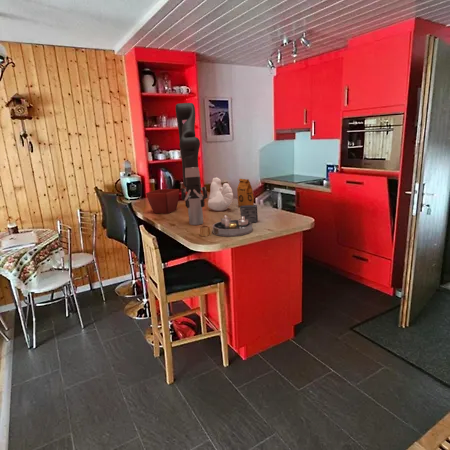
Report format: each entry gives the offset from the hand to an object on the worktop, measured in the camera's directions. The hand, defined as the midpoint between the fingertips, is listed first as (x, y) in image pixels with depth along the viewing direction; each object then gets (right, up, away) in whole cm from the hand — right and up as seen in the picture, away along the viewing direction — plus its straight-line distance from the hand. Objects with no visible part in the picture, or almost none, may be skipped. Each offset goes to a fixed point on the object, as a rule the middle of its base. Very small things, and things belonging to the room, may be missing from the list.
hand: (195, 207), depth 179 cm
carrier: (+20, -13, +20) cm, 31 cm away
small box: (+32, -8, +39) cm, 51 cm away
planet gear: (+4, -15, +15) cm, 22 cm away
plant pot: (-31, +1, +87) cm, 93 cm away
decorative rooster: (+13, +1, +79) cm, 80 cm away
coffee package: (+32, +5, +87) cm, 93 cm away
